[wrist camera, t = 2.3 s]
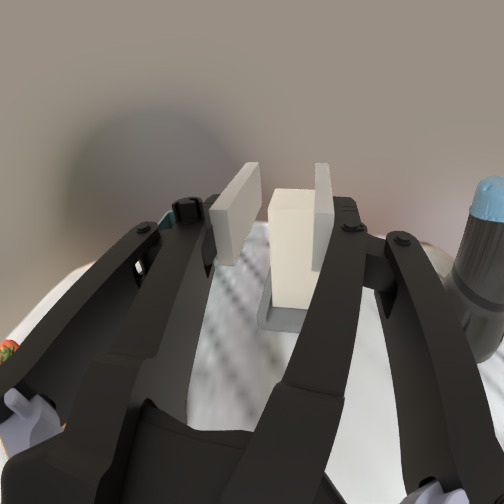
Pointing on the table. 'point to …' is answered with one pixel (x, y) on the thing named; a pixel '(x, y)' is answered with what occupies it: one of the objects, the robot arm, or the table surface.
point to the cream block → (292, 247)
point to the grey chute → (278, 313)
